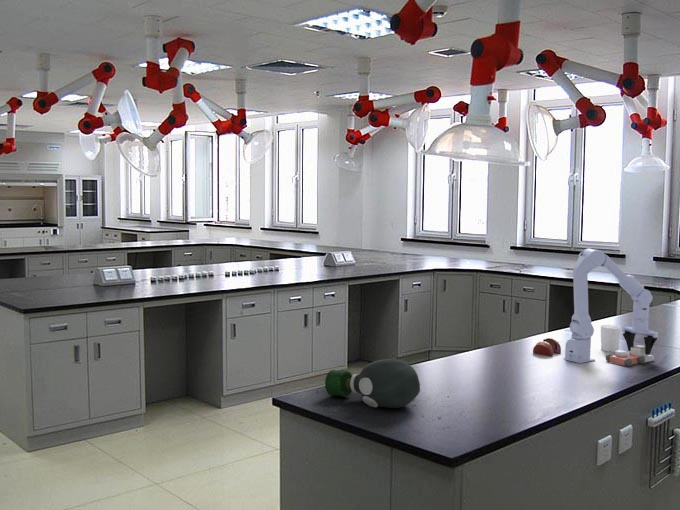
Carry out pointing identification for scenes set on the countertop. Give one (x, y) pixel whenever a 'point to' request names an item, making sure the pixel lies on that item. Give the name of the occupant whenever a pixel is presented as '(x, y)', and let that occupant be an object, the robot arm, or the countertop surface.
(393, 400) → the gas mask
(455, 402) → the countertop surface
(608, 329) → the white cup
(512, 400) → the countertop surface
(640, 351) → the white drawer box
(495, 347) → the countertop surface
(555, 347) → the red rounded pieces
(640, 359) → the toy car
